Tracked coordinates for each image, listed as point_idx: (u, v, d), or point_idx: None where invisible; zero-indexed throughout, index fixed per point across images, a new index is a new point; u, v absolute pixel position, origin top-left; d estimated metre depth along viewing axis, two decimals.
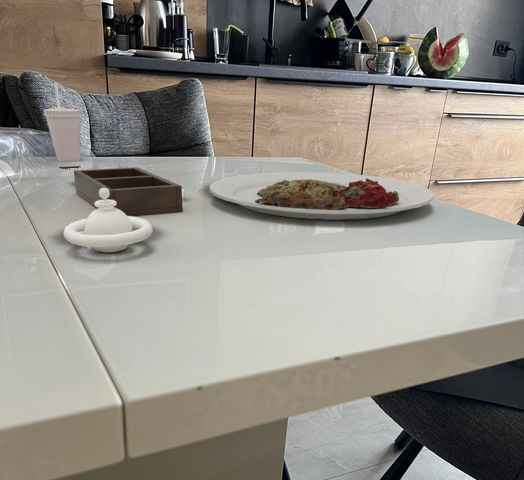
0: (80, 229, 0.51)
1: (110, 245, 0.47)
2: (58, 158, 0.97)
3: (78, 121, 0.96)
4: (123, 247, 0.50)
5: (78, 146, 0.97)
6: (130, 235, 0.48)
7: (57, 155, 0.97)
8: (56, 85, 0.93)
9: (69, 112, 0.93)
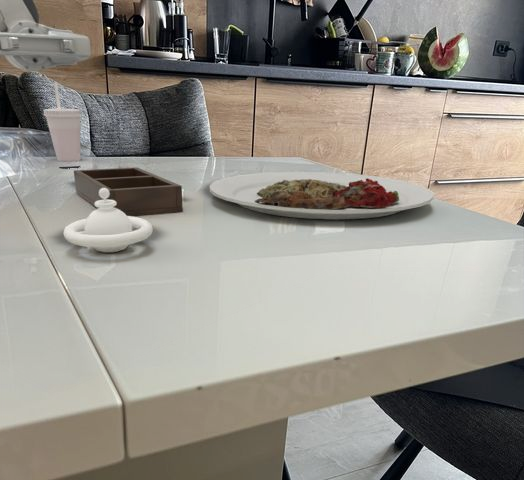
0: (80, 229, 0.51)
1: (110, 245, 0.47)
2: (58, 158, 0.97)
3: (78, 121, 0.96)
4: (123, 247, 0.50)
5: (78, 146, 0.97)
6: (130, 235, 0.48)
7: (57, 155, 0.97)
8: (56, 85, 0.93)
9: (69, 112, 0.93)
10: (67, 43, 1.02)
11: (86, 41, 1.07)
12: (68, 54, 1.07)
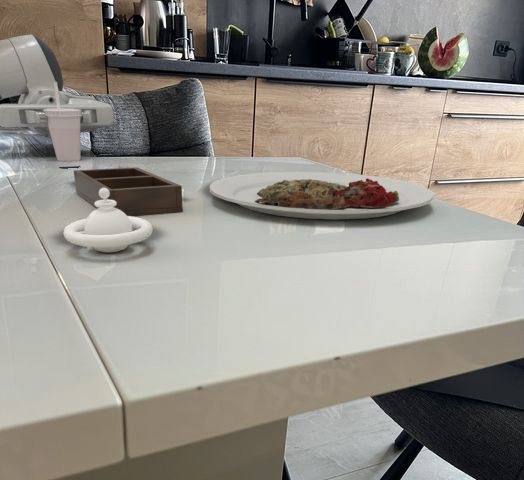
0: (80, 229, 0.51)
1: (110, 245, 0.47)
2: (58, 158, 0.97)
3: (78, 121, 0.96)
4: (123, 247, 0.50)
5: (78, 146, 0.97)
6: (130, 235, 0.48)
7: (57, 155, 0.97)
8: (56, 85, 0.93)
9: (69, 112, 0.93)
10: (86, 116, 0.97)
11: (109, 110, 1.03)
12: (90, 124, 1.02)
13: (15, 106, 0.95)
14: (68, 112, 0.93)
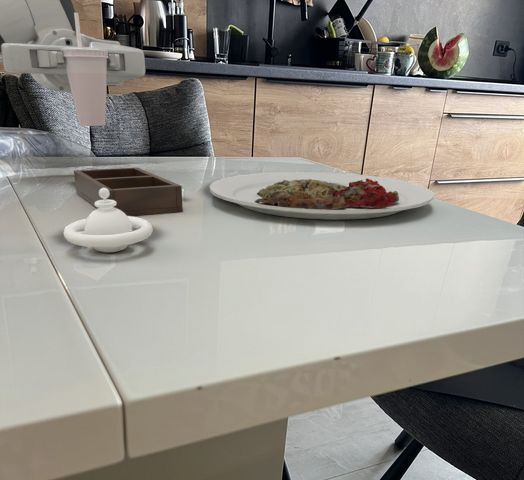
0: (80, 229, 0.51)
1: (110, 245, 0.47)
2: (78, 112, 0.78)
3: (104, 64, 0.76)
4: (123, 247, 0.50)
5: (103, 97, 0.78)
6: (130, 235, 0.48)
7: (77, 108, 0.77)
8: (77, 17, 0.73)
9: (93, 51, 0.74)
10: (113, 59, 0.77)
11: (140, 56, 0.83)
12: (117, 72, 0.82)
13: (25, 45, 0.75)
14: (92, 51, 0.74)
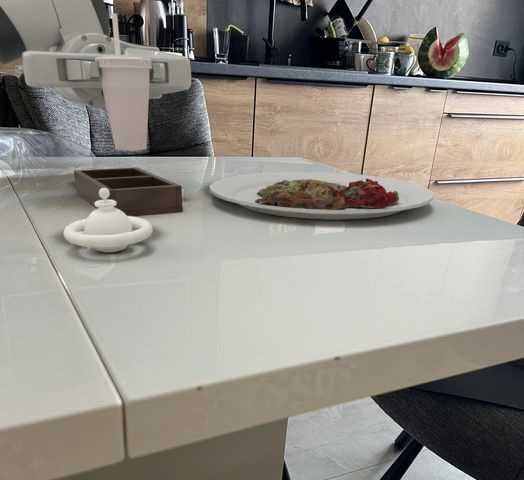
0: (80, 229, 0.51)
1: (110, 245, 0.47)
2: (115, 134, 0.64)
3: (147, 76, 0.62)
4: (123, 247, 0.50)
5: (145, 116, 0.64)
6: (130, 235, 0.48)
7: (114, 129, 0.64)
8: (115, 19, 0.60)
9: (136, 61, 0.60)
10: (158, 69, 0.63)
11: (186, 65, 0.69)
12: (159, 85, 0.69)
13: (51, 53, 0.62)
14: (134, 61, 0.60)
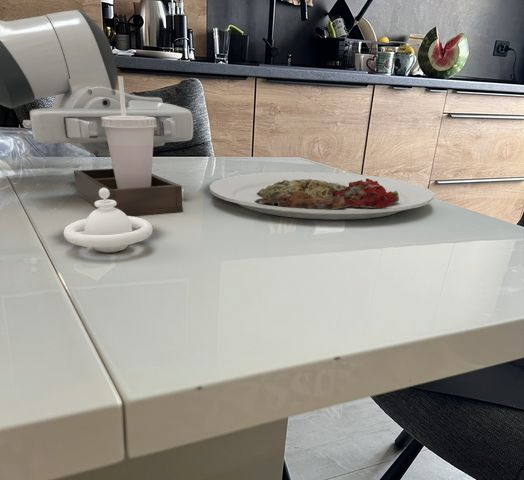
0: (80, 229, 0.51)
1: (110, 245, 0.47)
2: (120, 188, 0.67)
3: (151, 134, 0.65)
4: (123, 247, 0.50)
5: (149, 171, 0.67)
6: (130, 235, 0.48)
7: (119, 184, 0.66)
8: (121, 81, 0.62)
9: (141, 121, 0.63)
10: (168, 126, 0.66)
11: (189, 118, 0.72)
12: (163, 138, 0.71)
13: (58, 112, 0.64)
14: (139, 121, 0.62)
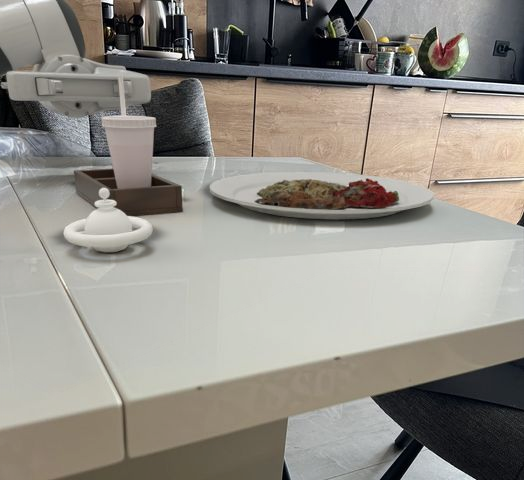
0: (80, 229, 0.51)
1: (110, 245, 0.47)
2: (120, 188, 0.67)
3: (151, 134, 0.65)
4: (123, 247, 0.50)
5: (149, 171, 0.67)
6: (130, 235, 0.48)
7: (119, 184, 0.66)
8: (121, 81, 0.62)
9: (141, 121, 0.62)
10: (125, 87, 0.77)
11: (146, 82, 0.82)
12: None
13: (30, 73, 0.75)
14: (139, 121, 0.62)
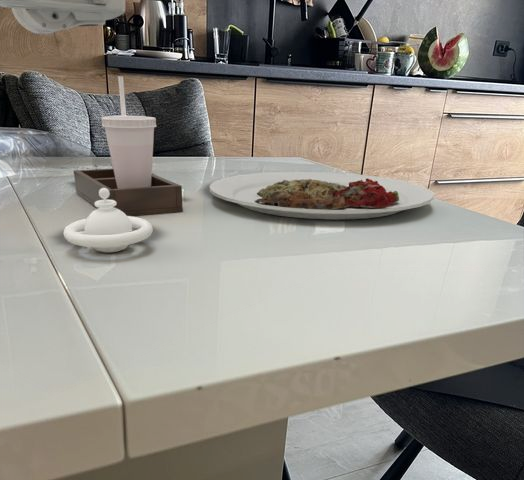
0: (80, 229, 0.51)
1: (110, 245, 0.47)
2: (120, 188, 0.67)
3: (151, 134, 0.65)
4: (123, 247, 0.50)
5: (149, 171, 0.67)
6: (130, 235, 0.48)
7: (119, 184, 0.66)
8: (121, 81, 0.62)
9: (141, 121, 0.62)
10: None
11: None
12: (98, 7, 0.84)
13: None
14: (139, 121, 0.62)
